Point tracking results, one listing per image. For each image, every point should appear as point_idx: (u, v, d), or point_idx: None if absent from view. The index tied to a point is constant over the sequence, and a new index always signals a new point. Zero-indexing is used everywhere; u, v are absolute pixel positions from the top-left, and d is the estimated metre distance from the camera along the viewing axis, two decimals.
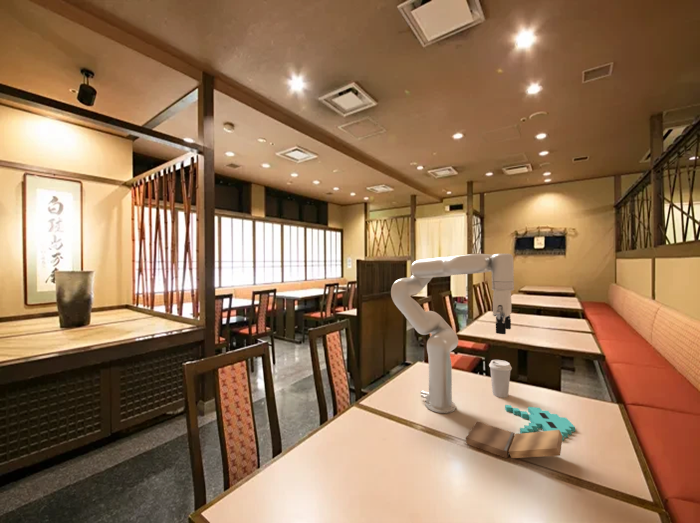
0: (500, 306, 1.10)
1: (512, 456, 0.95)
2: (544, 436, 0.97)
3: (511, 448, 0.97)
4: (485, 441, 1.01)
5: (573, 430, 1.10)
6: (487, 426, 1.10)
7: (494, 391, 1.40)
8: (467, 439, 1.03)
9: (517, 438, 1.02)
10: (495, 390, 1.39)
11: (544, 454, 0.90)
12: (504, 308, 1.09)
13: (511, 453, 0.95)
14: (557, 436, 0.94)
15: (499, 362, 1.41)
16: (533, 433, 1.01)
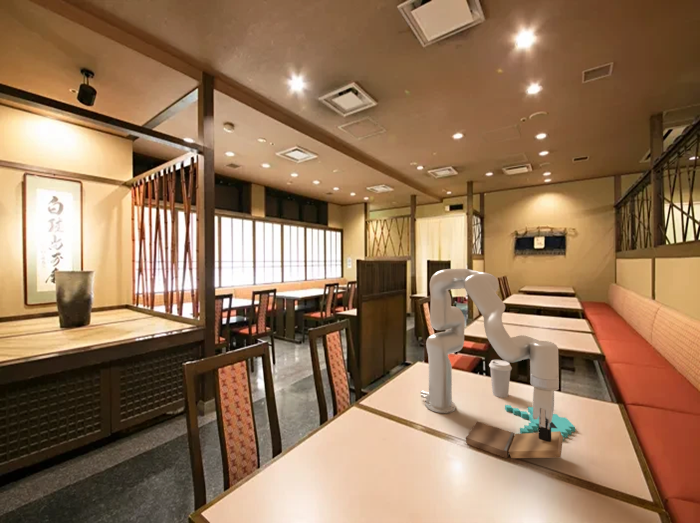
0: (543, 413, 0.91)
1: (512, 456, 0.95)
2: None
3: (511, 448, 0.97)
4: (485, 441, 1.01)
5: (573, 430, 1.10)
6: (487, 426, 1.10)
7: (494, 391, 1.40)
8: (467, 439, 1.03)
9: (517, 438, 1.02)
10: (495, 390, 1.39)
11: (544, 455, 0.90)
12: (548, 413, 0.90)
13: (511, 453, 0.95)
14: (558, 438, 0.94)
15: (499, 362, 1.41)
16: (533, 434, 1.01)
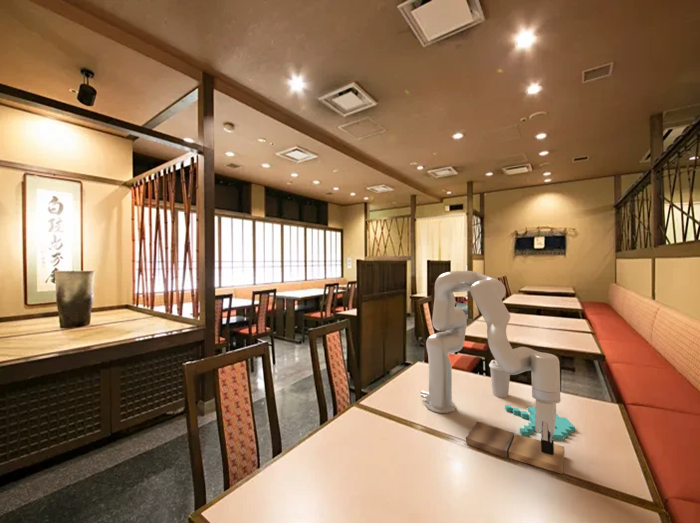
0: (545, 426, 0.91)
1: (510, 456, 0.95)
2: None
3: (511, 449, 0.97)
4: (485, 441, 1.01)
5: (573, 430, 1.10)
6: (487, 426, 1.10)
7: (494, 391, 1.40)
8: (467, 439, 1.03)
9: (518, 439, 1.02)
10: (495, 390, 1.39)
11: (546, 467, 0.90)
12: (550, 426, 0.90)
13: (510, 454, 0.95)
14: (562, 453, 0.93)
15: None
16: (535, 440, 1.01)
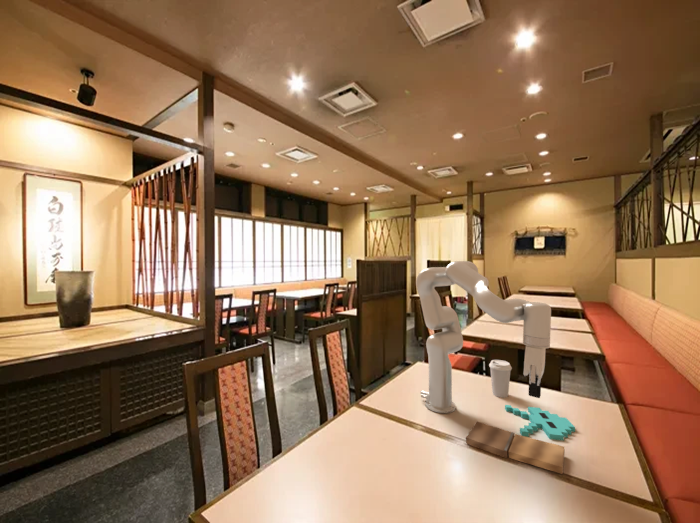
0: (533, 370, 0.95)
1: (510, 456, 0.95)
2: (547, 447, 0.96)
3: (511, 449, 0.97)
4: (485, 441, 1.01)
5: (573, 430, 1.10)
6: (487, 426, 1.10)
7: (494, 391, 1.40)
8: (467, 439, 1.03)
9: (518, 439, 1.02)
10: (495, 390, 1.39)
11: (546, 467, 0.90)
12: (538, 369, 0.93)
13: (510, 454, 0.95)
14: (562, 453, 0.93)
15: (499, 362, 1.41)
16: (535, 440, 1.01)
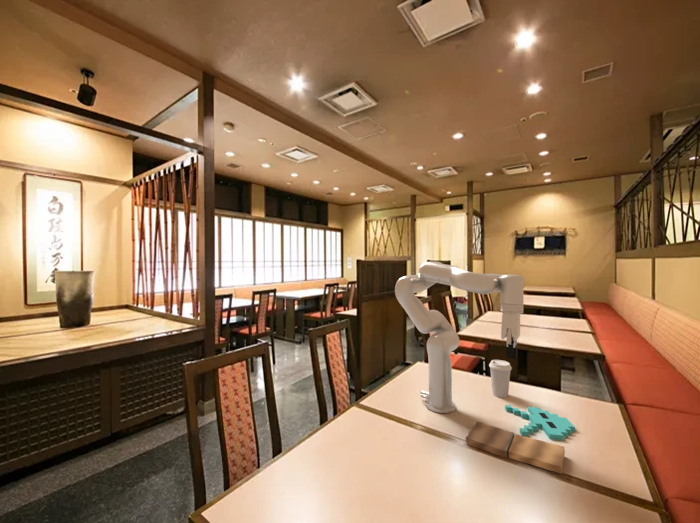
0: (509, 333, 1.07)
1: (510, 456, 0.95)
2: (547, 447, 0.96)
3: (511, 449, 0.97)
4: (485, 441, 1.01)
5: (573, 430, 1.10)
6: (487, 426, 1.10)
7: (494, 391, 1.40)
8: (467, 439, 1.03)
9: (518, 439, 1.02)
10: (495, 390, 1.39)
11: (546, 467, 0.90)
12: (513, 332, 1.06)
13: (510, 454, 0.95)
14: (562, 453, 0.93)
15: (499, 362, 1.41)
16: (535, 440, 1.01)
